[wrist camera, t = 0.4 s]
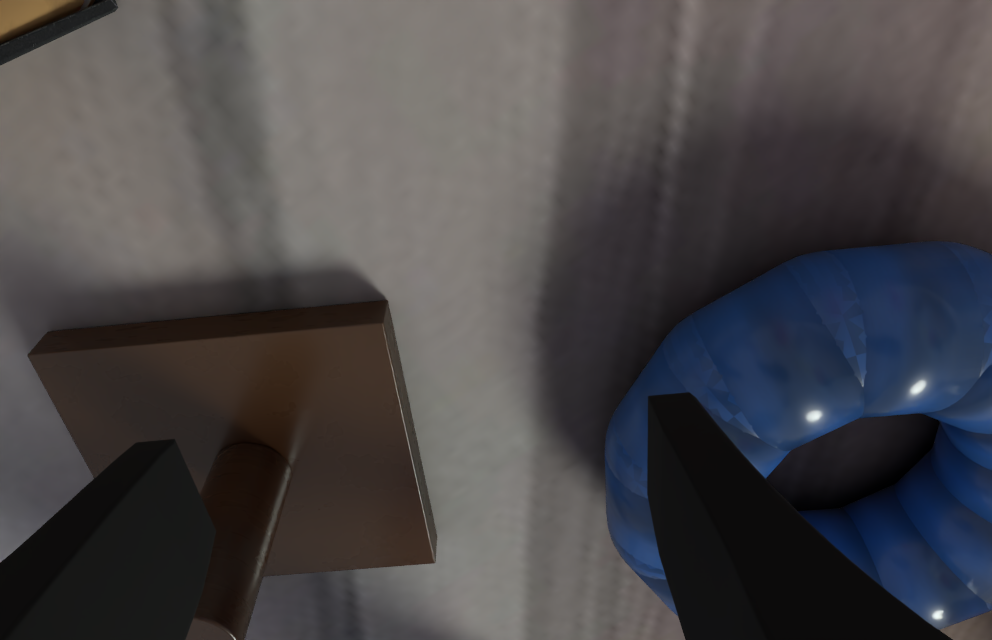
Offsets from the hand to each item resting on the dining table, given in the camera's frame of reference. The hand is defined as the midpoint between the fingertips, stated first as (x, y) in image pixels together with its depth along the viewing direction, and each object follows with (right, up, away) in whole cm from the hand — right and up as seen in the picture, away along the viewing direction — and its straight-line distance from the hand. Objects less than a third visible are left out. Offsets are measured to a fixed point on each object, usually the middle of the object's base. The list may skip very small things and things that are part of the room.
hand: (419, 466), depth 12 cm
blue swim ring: (+12, -2, +11) cm, 16 cm away
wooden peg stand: (-6, -2, +13) cm, 14 cm away
